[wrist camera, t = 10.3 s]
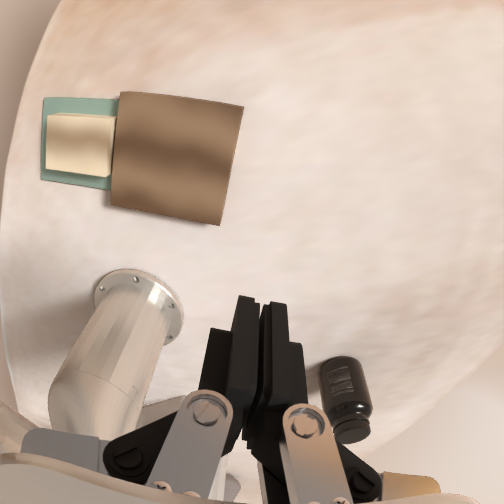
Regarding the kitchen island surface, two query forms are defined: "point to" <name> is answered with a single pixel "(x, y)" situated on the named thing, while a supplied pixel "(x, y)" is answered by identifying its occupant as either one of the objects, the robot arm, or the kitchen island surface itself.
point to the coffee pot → (231, 488)
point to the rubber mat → (79, 107)
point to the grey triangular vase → (168, 407)
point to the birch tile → (80, 143)
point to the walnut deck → (174, 155)
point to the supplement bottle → (345, 399)
